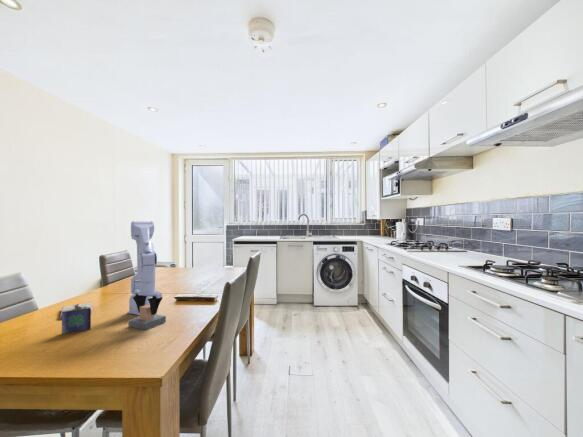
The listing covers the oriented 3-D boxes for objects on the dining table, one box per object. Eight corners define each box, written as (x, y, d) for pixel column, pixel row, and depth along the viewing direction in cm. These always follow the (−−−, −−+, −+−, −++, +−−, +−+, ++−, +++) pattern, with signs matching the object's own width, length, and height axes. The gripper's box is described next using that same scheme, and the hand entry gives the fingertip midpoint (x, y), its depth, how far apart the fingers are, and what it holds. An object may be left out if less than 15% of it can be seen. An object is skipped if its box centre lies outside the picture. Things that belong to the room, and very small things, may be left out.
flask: (60, 335, 107) (61, 307, 107) (62, 332, 109) (62, 305, 110) (90, 330, 112) (90, 303, 112) (91, 328, 114) (91, 301, 114)
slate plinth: (128, 326, 116) (128, 319, 116) (149, 318, 125) (149, 312, 125) (145, 330, 112) (145, 323, 112) (165, 321, 121) (165, 315, 121)
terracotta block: (139, 318, 117) (139, 307, 117) (147, 315, 121) (148, 304, 121) (146, 320, 116) (146, 308, 116) (154, 317, 119) (154, 305, 119)
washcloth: (60, 321, 123) (60, 314, 123) (60, 311, 137) (60, 305, 137) (93, 315, 130) (93, 309, 131) (90, 306, 144) (90, 300, 144)
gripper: (127, 281, 118) (127, 313, 118) (151, 284, 112) (151, 318, 112) (142, 278, 124) (142, 308, 124) (166, 281, 118) (165, 313, 118)
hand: (147, 313), depth 118 cm, fingers open, 7 cm apart
